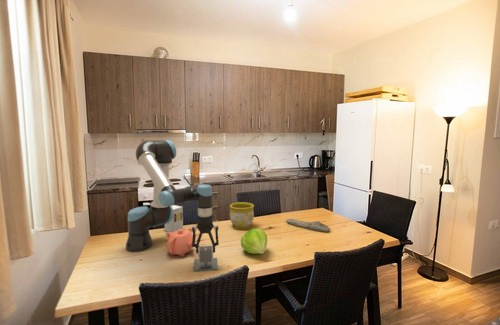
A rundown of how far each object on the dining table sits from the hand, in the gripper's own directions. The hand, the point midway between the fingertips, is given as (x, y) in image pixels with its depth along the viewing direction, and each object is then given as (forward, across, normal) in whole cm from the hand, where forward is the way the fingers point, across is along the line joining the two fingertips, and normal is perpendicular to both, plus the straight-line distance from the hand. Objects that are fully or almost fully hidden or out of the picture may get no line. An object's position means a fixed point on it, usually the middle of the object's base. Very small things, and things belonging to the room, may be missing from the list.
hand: (205, 258), depth 140 cm
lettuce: (+4, +28, +11) cm, 30 cm away
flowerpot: (+4, +26, +57) cm, 63 cm away
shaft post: (+3, 0, 0) cm, 3 cm away
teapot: (+4, -13, +18) cm, 23 cm away
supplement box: (+3, -23, +57) cm, 62 cm away
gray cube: (0, 0, 0) cm, 0 cm away
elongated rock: (+4, +74, +50) cm, 89 cm away
